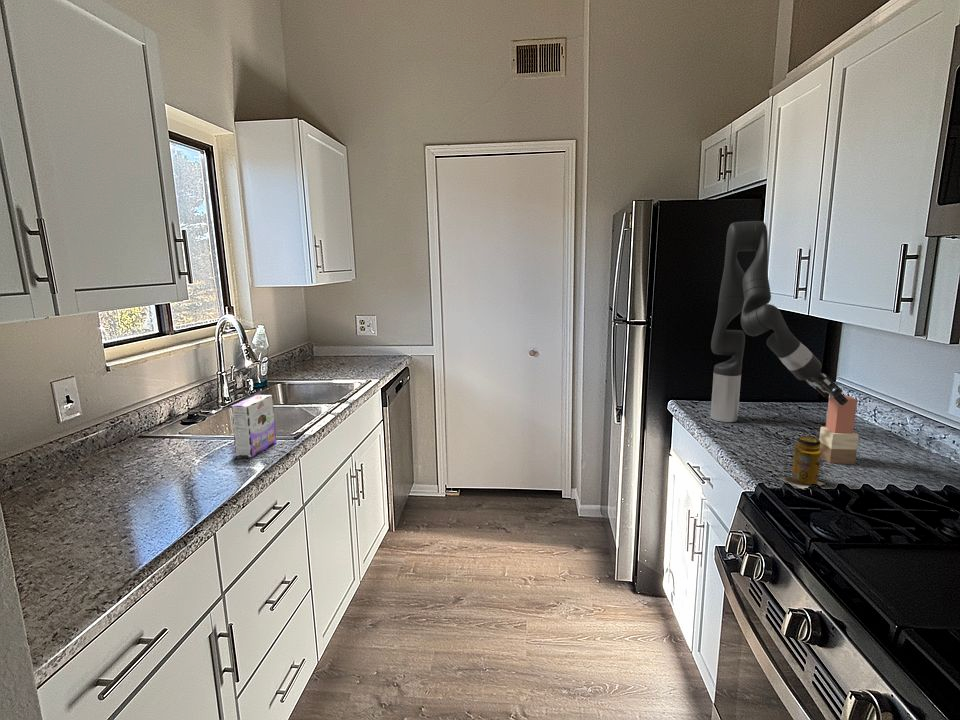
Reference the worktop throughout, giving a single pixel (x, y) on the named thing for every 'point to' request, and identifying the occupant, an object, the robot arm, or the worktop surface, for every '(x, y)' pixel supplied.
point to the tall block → (841, 415)
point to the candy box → (253, 425)
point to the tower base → (838, 455)
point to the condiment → (805, 463)
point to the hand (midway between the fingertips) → (836, 399)
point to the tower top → (838, 439)
